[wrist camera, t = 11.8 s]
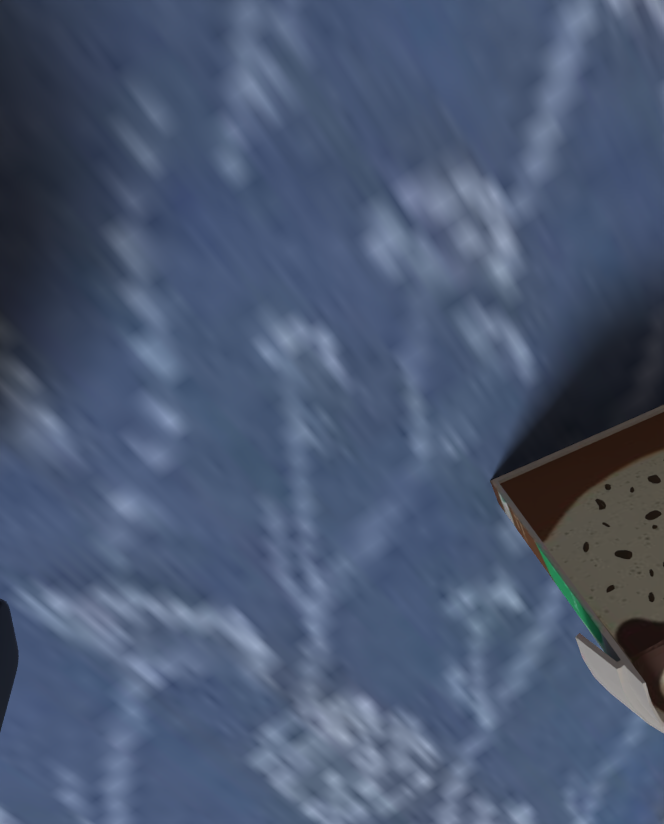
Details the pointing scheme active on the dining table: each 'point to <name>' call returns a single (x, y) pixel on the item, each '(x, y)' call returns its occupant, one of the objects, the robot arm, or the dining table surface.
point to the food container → (604, 549)
